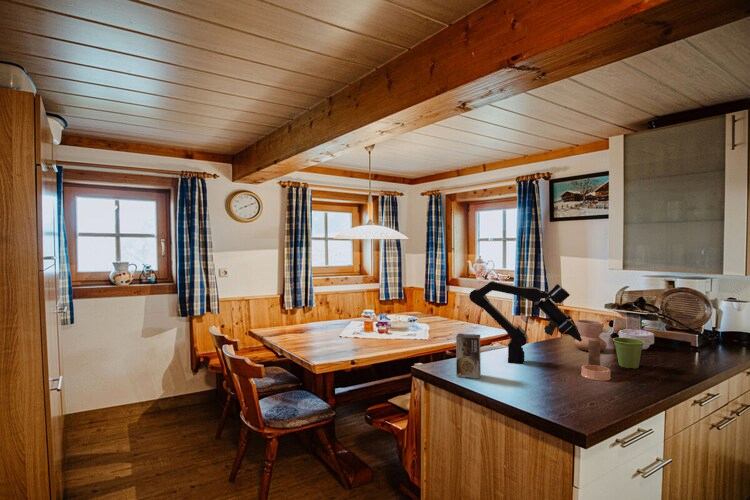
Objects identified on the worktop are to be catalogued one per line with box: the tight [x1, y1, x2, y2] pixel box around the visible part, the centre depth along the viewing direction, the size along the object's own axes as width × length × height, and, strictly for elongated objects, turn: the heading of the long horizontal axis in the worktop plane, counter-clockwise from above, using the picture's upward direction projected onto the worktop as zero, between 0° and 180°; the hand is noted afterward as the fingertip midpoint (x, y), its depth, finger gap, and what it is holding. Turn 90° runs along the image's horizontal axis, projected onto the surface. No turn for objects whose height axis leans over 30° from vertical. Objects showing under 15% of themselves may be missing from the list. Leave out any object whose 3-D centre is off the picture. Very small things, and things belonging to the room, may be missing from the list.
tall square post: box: [587, 340, 601, 366], centre depth 172 cm, size 4×4×12 cm
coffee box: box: [455, 333, 482, 379], centre depth 165 cm, size 9×6×16 cm
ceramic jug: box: [573, 319, 609, 352], centre depth 207 cm, size 18×14×14 cm
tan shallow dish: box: [580, 364, 612, 382], centre depth 164 cm, size 10×10×3 cm
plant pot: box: [612, 337, 645, 369], centre depth 178 cm, size 12×12×11 cm
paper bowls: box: [618, 328, 655, 350], centre depth 212 cm, size 15×15×8 cm
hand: (580, 338), depth 174 cm, fingers open, 9 cm apart
